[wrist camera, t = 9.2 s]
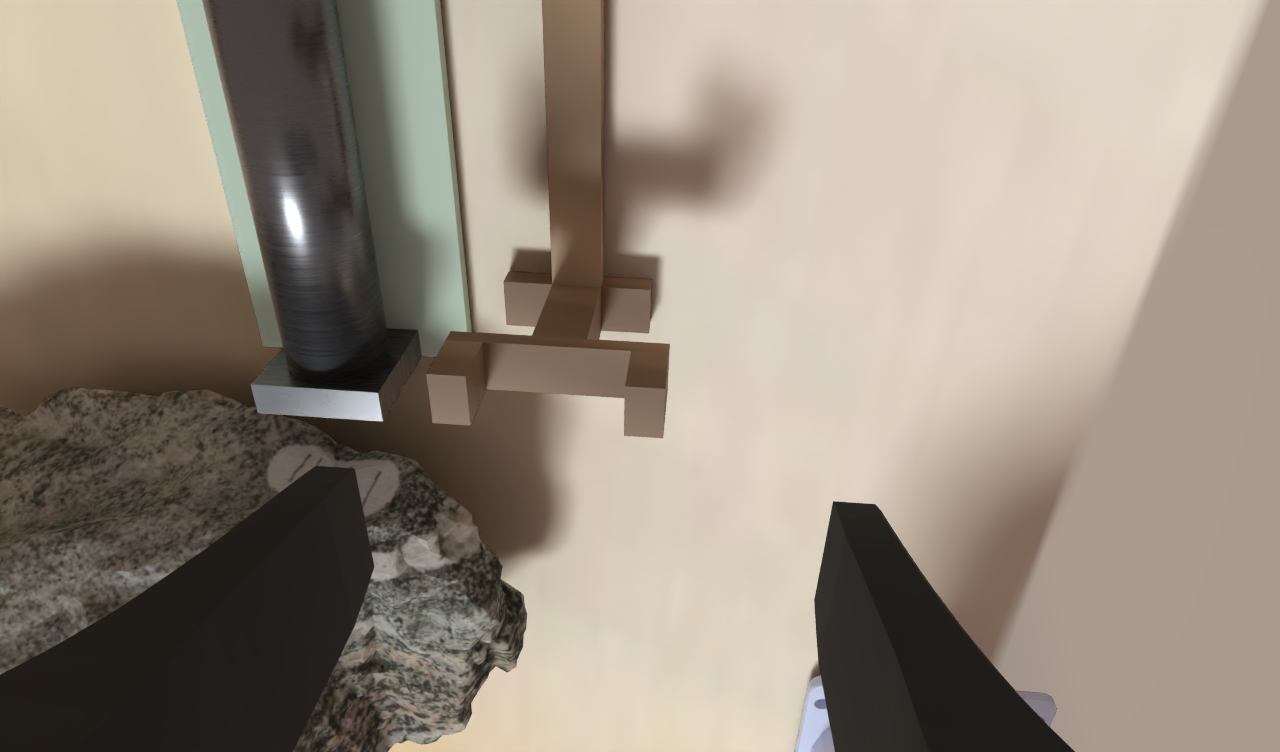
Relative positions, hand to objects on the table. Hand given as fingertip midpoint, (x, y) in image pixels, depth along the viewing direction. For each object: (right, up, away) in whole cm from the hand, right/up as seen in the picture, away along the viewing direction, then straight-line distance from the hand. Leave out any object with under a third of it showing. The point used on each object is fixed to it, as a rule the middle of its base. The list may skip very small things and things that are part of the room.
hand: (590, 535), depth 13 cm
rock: (-11, -2, +14) cm, 18 cm away
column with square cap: (-6, +8, +6) cm, 12 cm away
